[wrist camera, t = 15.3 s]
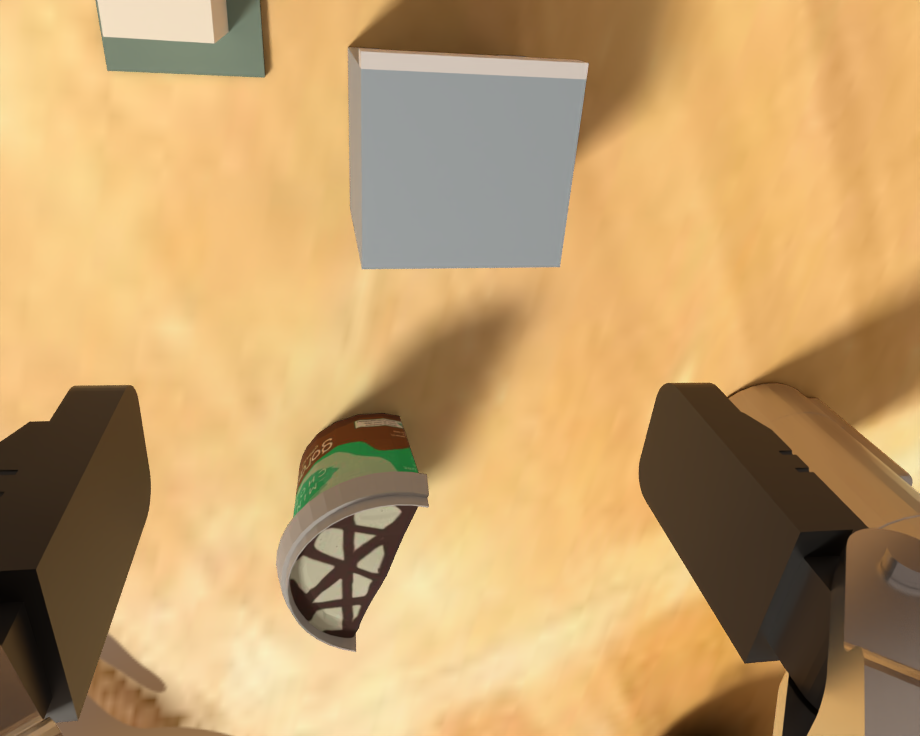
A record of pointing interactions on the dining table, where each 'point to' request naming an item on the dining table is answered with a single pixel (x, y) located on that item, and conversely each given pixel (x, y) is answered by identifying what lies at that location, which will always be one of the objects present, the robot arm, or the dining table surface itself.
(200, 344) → the dining table surface
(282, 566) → the food container
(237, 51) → the rubber mat
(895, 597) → the robot arm
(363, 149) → the dispenser sleeve
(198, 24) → the tall cream rectangular prism
